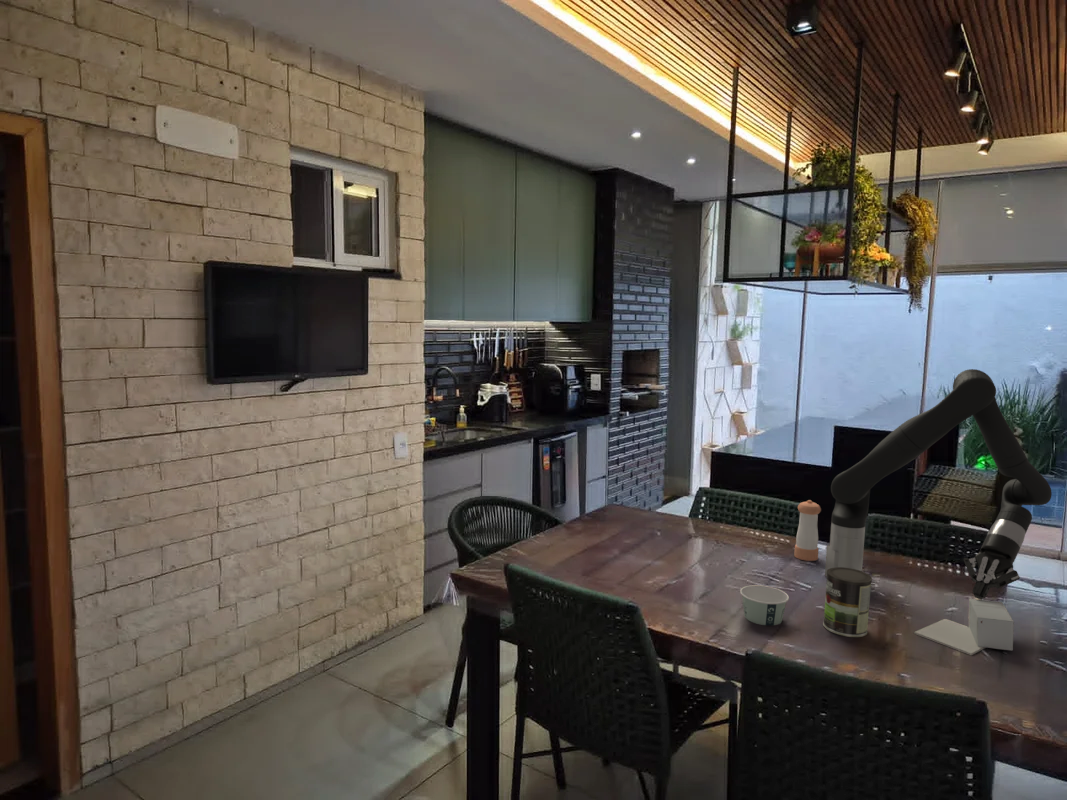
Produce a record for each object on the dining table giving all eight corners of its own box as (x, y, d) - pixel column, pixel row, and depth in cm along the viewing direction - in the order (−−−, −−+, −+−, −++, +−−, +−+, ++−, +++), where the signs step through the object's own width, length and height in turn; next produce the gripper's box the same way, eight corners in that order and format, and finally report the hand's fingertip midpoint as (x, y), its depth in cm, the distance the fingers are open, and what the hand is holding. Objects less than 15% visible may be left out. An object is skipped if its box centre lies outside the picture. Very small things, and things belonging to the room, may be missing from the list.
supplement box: (967, 626, 174) (976, 646, 162) (968, 597, 173) (976, 616, 162) (1002, 630, 171) (1013, 652, 159) (1003, 601, 170) (1014, 621, 159)
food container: (733, 607, 183) (734, 584, 183) (778, 609, 183) (780, 585, 182) (745, 627, 172) (747, 602, 171) (794, 628, 171) (795, 603, 170)
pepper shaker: (821, 561, 222) (825, 503, 220) (798, 560, 222) (802, 502, 220) (812, 553, 229) (816, 497, 227) (791, 553, 229) (794, 497, 227)
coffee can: (836, 638, 166) (840, 582, 165) (815, 620, 177) (818, 567, 175) (876, 637, 167) (881, 581, 166) (853, 619, 177) (857, 566, 176)
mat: (971, 655, 159) (971, 653, 159) (914, 633, 170) (914, 631, 169) (1000, 640, 167) (1000, 638, 167) (944, 620, 178) (945, 618, 178)
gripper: (1036, 556, 174) (1010, 614, 168) (979, 542, 185) (953, 596, 179) (1029, 540, 170) (1003, 598, 165) (971, 526, 181) (945, 580, 176)
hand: (977, 596), depth 172 cm, fingers closed
